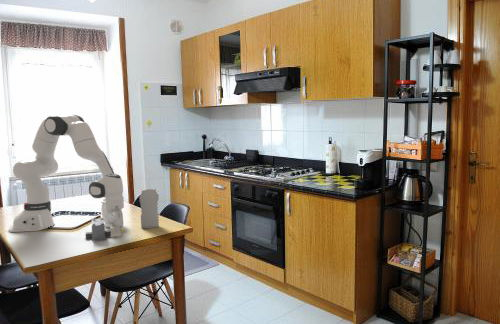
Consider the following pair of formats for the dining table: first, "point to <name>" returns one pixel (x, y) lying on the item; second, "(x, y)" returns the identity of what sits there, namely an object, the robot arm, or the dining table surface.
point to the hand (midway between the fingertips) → (116, 230)
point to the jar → (105, 214)
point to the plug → (107, 232)
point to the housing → (98, 229)
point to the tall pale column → (149, 208)
